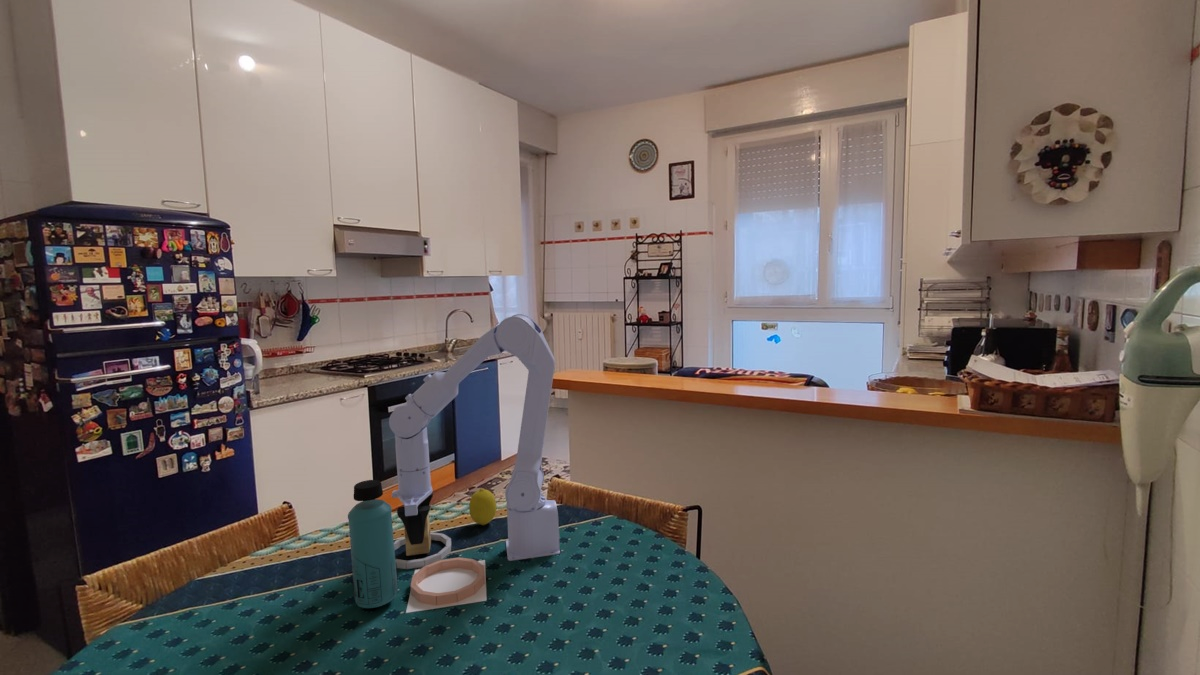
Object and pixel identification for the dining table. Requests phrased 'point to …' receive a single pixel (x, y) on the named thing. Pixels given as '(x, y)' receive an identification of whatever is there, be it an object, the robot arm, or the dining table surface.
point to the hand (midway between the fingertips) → (418, 537)
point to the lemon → (482, 506)
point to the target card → (448, 587)
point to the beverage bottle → (372, 547)
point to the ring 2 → (452, 595)
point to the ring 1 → (428, 560)
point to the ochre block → (419, 548)
